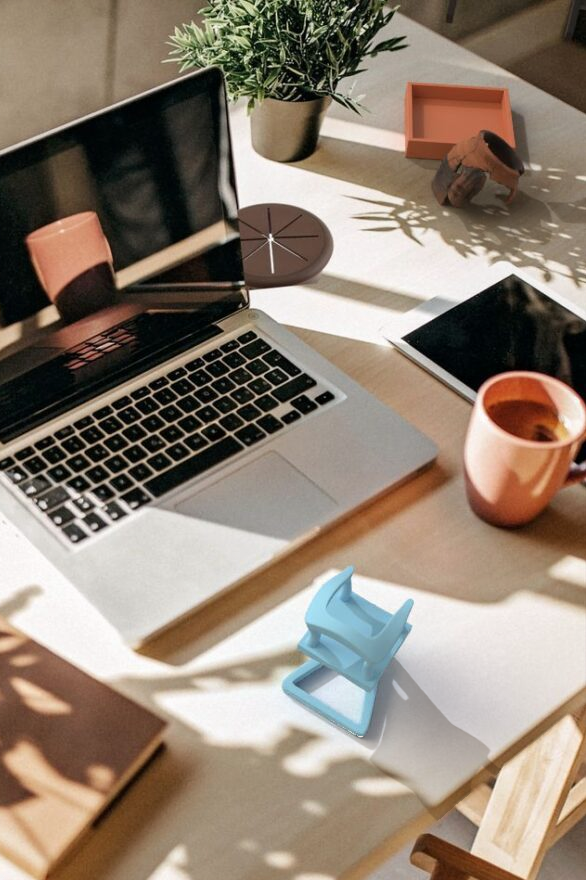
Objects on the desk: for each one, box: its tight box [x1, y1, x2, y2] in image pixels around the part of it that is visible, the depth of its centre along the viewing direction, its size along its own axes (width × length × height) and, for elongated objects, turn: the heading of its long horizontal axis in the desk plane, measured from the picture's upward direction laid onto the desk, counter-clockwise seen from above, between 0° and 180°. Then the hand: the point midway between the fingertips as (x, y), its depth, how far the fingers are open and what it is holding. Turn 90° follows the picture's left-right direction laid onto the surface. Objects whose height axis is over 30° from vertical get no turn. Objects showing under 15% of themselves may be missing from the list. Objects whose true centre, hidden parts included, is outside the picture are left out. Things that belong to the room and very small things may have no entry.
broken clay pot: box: [430, 130, 526, 209], centre depth 115 cm, size 12×10×8 cm
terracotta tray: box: [404, 81, 516, 161], centre depth 125 cm, size 13×13×2 cm
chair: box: [281, 565, 415, 737], centre depth 75 cm, size 8×8×12 cm
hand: (508, 28), depth 112 cm, fingers open, 13 cm apart
